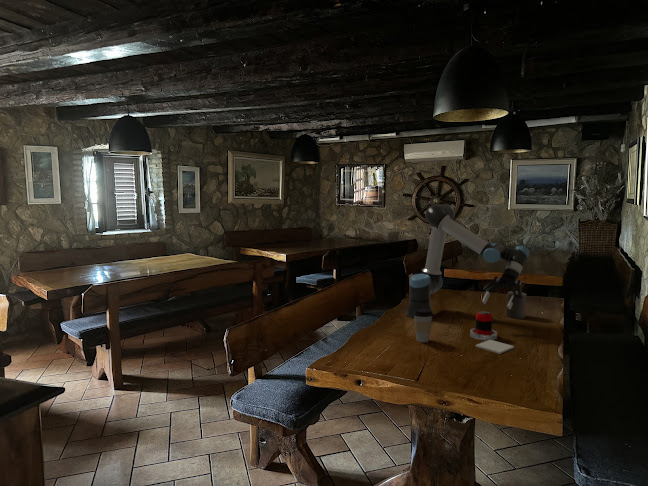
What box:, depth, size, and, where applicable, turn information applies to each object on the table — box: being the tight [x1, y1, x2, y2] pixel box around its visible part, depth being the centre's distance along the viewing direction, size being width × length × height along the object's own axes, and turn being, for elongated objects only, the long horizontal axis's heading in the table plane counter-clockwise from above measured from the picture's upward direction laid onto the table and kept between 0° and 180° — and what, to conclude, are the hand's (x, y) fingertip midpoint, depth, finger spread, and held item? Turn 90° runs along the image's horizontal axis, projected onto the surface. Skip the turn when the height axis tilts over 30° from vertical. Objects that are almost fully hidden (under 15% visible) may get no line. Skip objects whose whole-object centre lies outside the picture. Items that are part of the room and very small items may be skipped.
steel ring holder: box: [469, 327, 498, 341], centre depth 213 cm, size 12×12×2 cm
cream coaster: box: [475, 340, 515, 355], centre depth 198 cm, size 12×12×1 cm
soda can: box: [474, 310, 493, 335], centre depth 213 cm, size 8×8×12 cm
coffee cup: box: [413, 308, 434, 344], centre depth 207 cm, size 9×9×15 cm
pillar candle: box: [506, 290, 527, 320], centre depth 247 cm, size 10×10×15 cm
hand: (495, 305), depth 217 cm, fingers open, 13 cm apart
